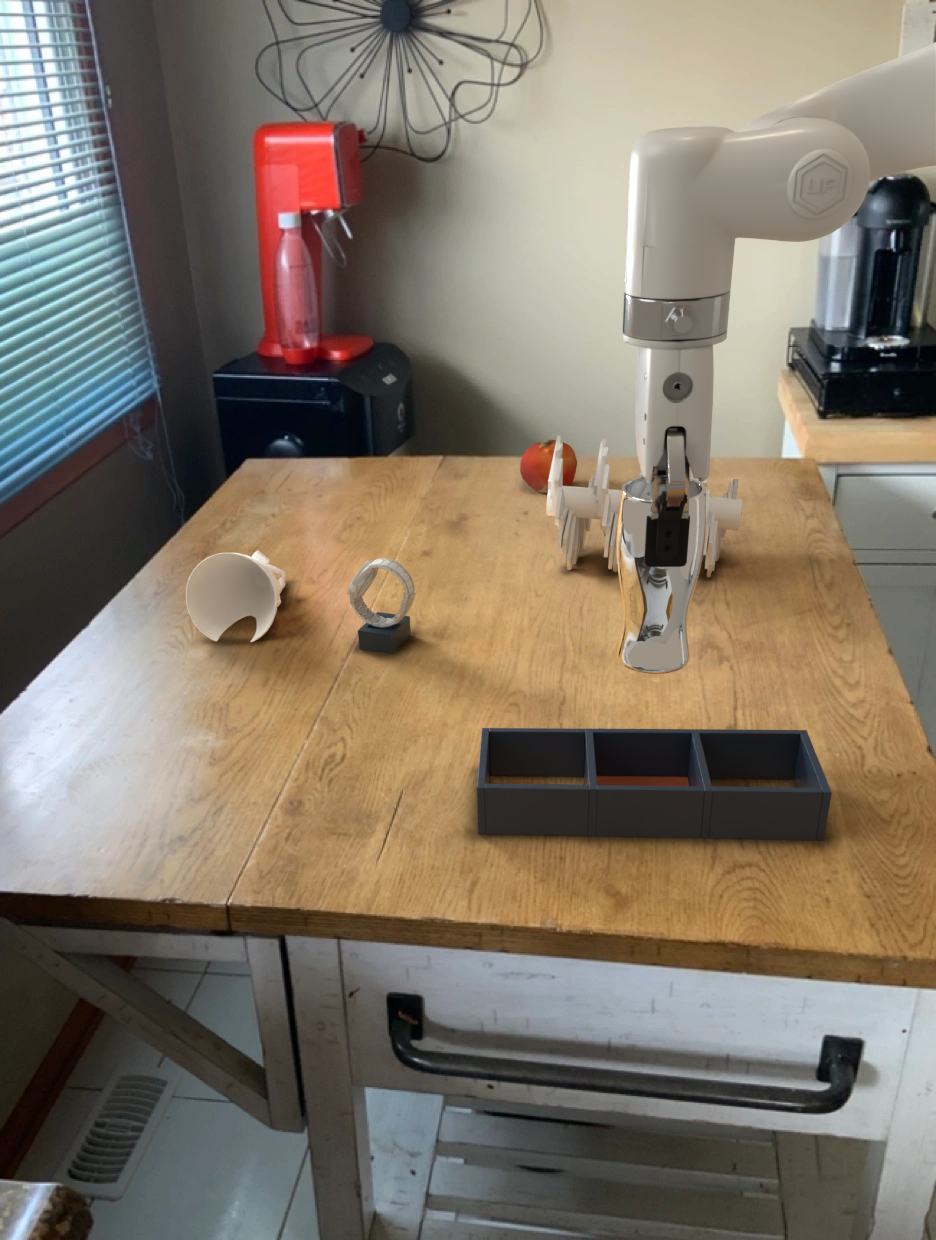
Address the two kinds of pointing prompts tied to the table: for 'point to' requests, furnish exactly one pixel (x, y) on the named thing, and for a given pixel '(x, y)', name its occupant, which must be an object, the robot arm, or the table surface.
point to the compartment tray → (652, 783)
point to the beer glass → (656, 584)
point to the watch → (381, 627)
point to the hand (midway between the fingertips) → (660, 545)
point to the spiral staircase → (603, 503)
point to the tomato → (546, 465)
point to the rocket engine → (233, 592)
